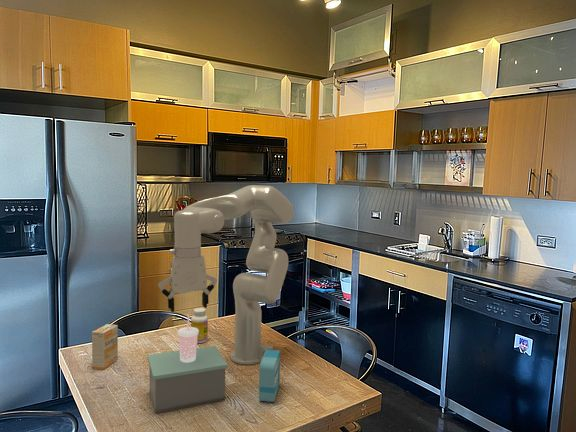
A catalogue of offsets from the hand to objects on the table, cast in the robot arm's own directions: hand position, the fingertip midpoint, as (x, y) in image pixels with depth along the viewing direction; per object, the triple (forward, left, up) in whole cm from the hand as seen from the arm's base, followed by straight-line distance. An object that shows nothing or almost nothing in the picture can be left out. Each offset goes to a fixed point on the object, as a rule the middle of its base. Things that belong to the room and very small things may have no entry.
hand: (188, 308), depth 129 cm
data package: (-23, +8, -27) cm, 37 cm away
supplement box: (+23, -31, -27) cm, 47 cm away
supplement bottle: (-12, -41, -27) cm, 50 cm away
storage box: (+1, 0, -27) cm, 27 cm away
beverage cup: (0, 0, -16) cm, 16 cm away
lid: (+1, 0, -17) cm, 17 cm away
